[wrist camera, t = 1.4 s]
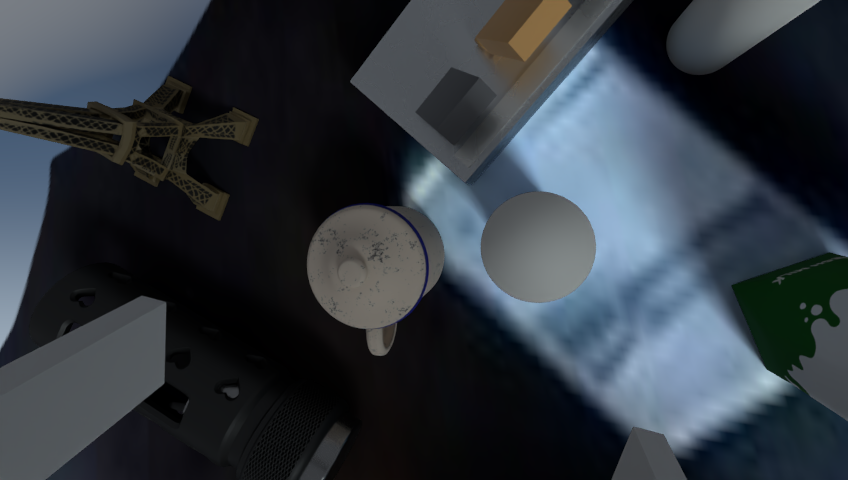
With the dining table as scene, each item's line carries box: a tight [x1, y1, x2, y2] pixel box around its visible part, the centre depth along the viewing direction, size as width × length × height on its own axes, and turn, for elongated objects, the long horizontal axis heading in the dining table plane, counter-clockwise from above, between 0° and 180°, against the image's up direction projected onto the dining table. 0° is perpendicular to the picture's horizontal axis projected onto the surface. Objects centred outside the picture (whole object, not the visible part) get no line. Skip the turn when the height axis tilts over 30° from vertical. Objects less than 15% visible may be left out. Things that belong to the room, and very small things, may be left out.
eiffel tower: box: [0, 76, 259, 220], centre depth 32 cm, size 11×11×25 cm
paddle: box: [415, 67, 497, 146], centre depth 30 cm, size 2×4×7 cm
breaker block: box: [350, 0, 633, 185], centre depth 34 cm, size 12×20×5 cm, turn 139°
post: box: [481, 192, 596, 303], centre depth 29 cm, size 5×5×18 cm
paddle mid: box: [474, 0, 572, 62], centre depth 29 cm, size 2×4×7 cm
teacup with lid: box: [307, 203, 444, 356], centre depth 35 cm, size 12×9×12 cm
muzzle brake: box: [29, 263, 362, 480], centre depth 39 cm, size 10×28×10 cm, turn 64°
